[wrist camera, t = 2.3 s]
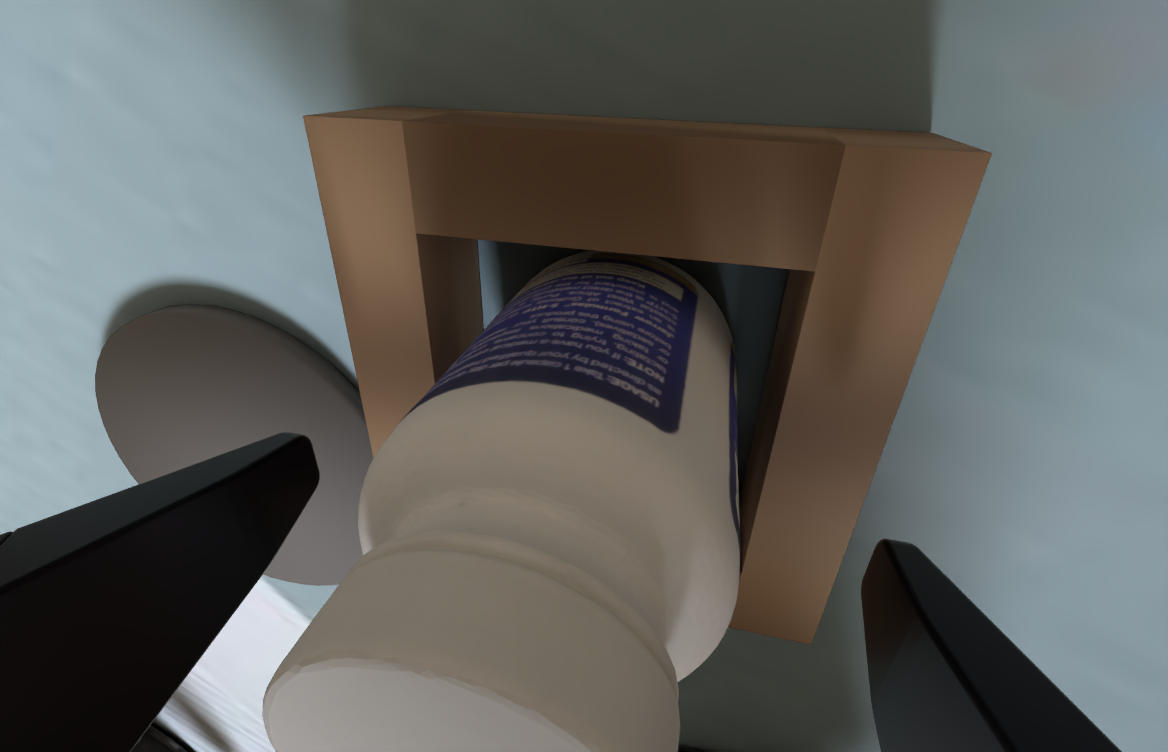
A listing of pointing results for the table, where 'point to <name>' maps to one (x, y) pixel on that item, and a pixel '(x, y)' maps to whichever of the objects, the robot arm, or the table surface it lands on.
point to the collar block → (675, 230)
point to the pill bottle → (539, 534)
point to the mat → (239, 417)
